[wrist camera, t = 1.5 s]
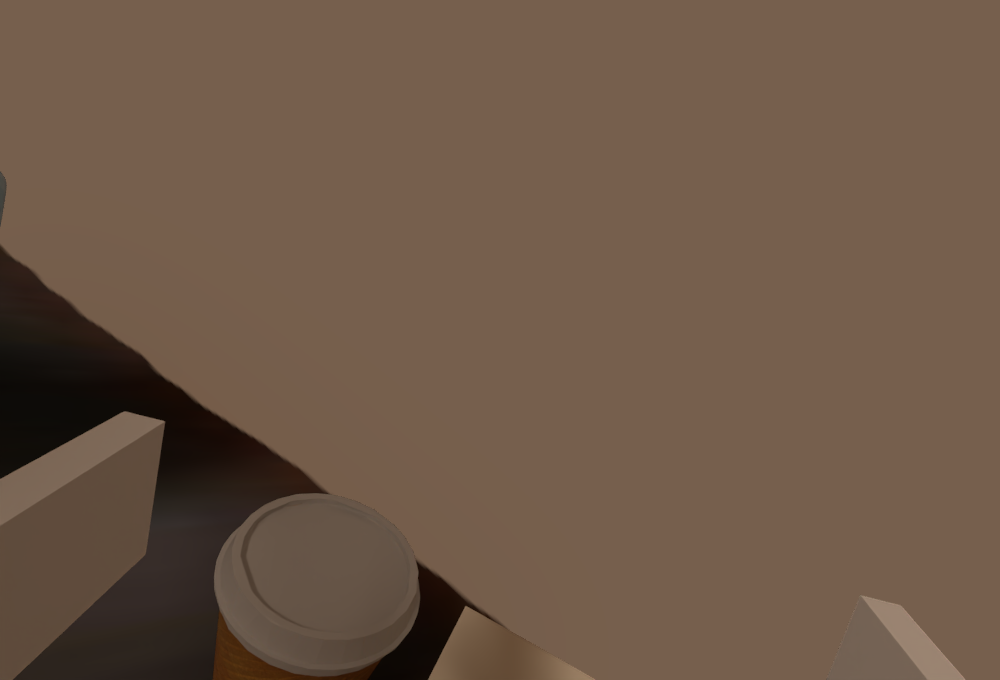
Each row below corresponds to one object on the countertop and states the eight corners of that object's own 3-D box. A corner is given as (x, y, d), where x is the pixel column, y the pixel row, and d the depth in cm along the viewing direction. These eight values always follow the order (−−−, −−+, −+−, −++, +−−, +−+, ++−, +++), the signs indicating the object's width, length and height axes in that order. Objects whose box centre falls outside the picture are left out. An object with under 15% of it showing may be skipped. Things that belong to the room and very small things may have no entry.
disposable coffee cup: (393, 729, 40) (466, 582, 34) (247, 859, 32) (314, 694, 27) (288, 612, 43) (339, 464, 38) (135, 702, 36) (174, 532, 31)
